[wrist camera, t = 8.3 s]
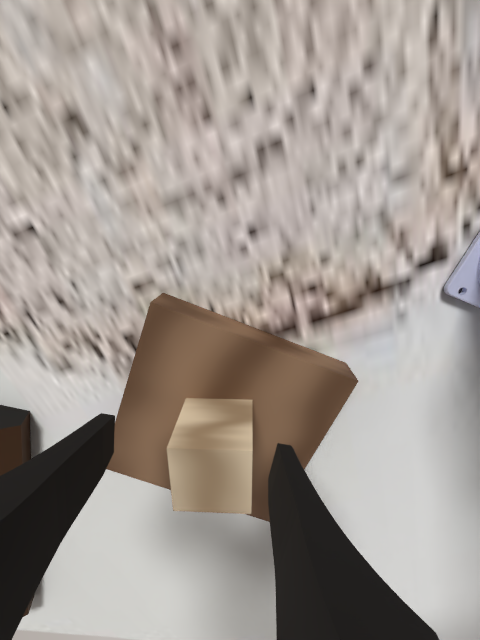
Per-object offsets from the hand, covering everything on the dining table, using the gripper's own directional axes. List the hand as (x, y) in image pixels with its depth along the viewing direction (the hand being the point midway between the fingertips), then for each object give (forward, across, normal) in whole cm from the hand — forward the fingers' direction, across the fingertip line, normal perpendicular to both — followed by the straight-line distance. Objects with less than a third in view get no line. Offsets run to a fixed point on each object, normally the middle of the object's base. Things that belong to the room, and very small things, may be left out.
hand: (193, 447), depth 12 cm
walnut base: (+9, -1, +4) cm, 10 cm away
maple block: (+6, -1, +4) cm, 8 cm away
